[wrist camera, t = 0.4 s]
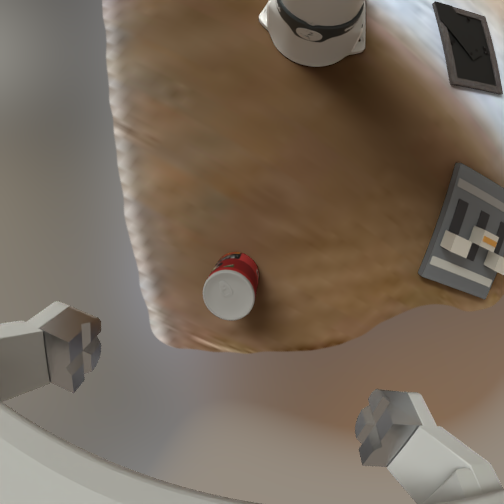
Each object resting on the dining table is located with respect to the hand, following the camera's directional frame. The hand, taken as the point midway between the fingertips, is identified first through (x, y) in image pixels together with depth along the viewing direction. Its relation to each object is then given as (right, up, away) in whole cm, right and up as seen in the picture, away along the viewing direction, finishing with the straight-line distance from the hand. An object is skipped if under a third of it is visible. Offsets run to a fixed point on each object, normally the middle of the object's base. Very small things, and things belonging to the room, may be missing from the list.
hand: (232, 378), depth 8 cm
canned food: (-2, 0, +49) cm, 49 cm away
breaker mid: (+43, +6, +41) cm, 60 cm away
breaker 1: (+36, +5, +42) cm, 56 cm away
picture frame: (+43, +43, +33) cm, 70 cm away
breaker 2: (+48, +2, +42) cm, 63 cm away
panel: (+43, +7, +43) cm, 61 cm away
